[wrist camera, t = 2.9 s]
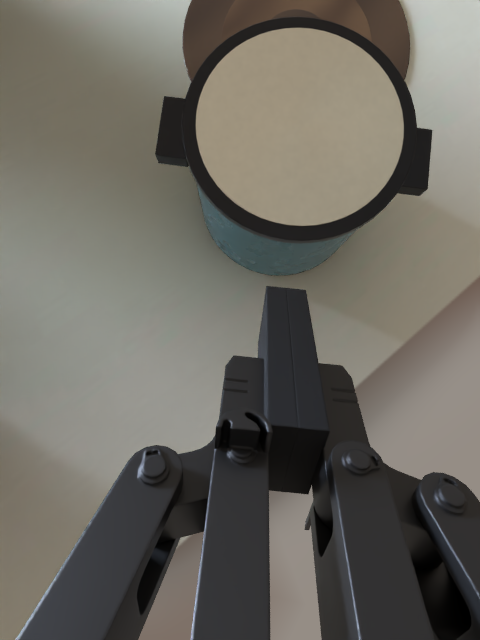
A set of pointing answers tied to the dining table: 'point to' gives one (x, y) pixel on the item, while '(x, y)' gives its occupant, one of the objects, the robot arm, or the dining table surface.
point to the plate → (270, 3)
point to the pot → (294, 141)
